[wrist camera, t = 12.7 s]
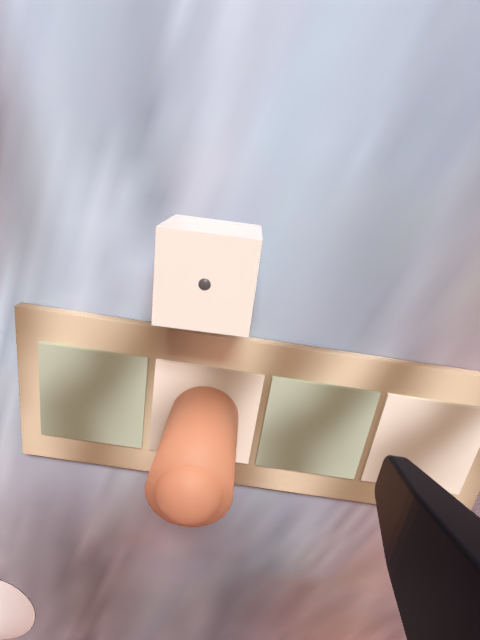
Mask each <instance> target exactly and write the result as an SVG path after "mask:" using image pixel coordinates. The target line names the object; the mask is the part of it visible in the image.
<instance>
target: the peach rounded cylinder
mask: <svg viewBox="0 0 480 640" xmlns="http://www.w3.org/2000/svg"><path fill="white" fill-rule="evenodd" d="M238 418H239V416H238V409H237V407H236V405H235V403H234V401H233V400H232V399H231V398H230V397H229V396H228V395H227V394H226V393H224V392H223V391H221V390H219V389H216V388H213V387H208V386H198V387H193V388H190V389H188V390H186V391H184V392H182V393H181V394H180V395H179V396H178V397H177V398H176V400H175V401H174V403H173V406H172V409H171V411H170V414H169V417H168V420H167V423H166V426H165V429H164V432H163V434H162V437H161V440H160V443H159V446H158V449H157V452H156V455H155V457H154V460H153V463H152V466H151V469H150V472H149V475H148V477H147V480H146V484H145V495H146V498H147V501H148V503H149V505H150V506H151V508H152V509H153V510H154V511H155V513H157V514H158V515H159V516H160V517H162V518H163V519H165V520H167V521H169V522H171V523H173V524H177V525H180V526H187V527H198V526H204V525H208V524H211V523H213V522H215V521H217V520H219V519H220V518H221V517H223V516H224V515H225V514H226V513H227V511H228V510H229V508H230V506H231V504H232V500H233V490H234V475H235V461H236V446H237V432H238Z"/></svg>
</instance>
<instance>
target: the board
mask: <svg viewBox="0 0 480 640" xmlns="http://www.w3.org/2000/svg"><path fill="white" fill-rule="evenodd" d="M14 308H15V325H16V343H17V360H18V377H19V395H20V412H21V430H22V447H23V453H25V454H31V455H38V456H45V457H52V458H59V459H66V460H73V461H80V462H87V463H94V464H101V465H108V466H115V467H121V468H128V469H135V470H142V471H149V472H150V469H151V466H152V463H153V460H154V457H155V455H156V452H157V449H158V446H159V443H160V440H161V437H162V434H163V432H164V429H165V426H166V423H167V420H168V417H169V414H170V411H171V409H172V406H173V403H174V401H175V400H176V398H177V397H178V396H179V395H180V394H181V393H182V392H184V391H186V390H188V389H190V388H193V387H198V386H208V387H213V388H216V389H219V390H221V391H223V392H224V393H226V394H227V395H228V396H229V397H230V398H231V399H232V400H233V401H234V403H235V405H236V407H237V409H238V416H239V418H238V432H237V446H236V461H235V475H234V484H239V485H246V486H253V487H260V488H267V489H274V490H281V491H288V492H295V493H301V494H308V495H315V496H322V497H329V498H336V499H343V500H350V501H357V502H364V503H371V504H376V500H375V484H376V481H377V478H378V475H379V472H380V469H381V466H382V463H383V460H384V458H385V457H386V456H388V455H394V456H401V457H406V458H407V459H409V460H410V461H411V462H412V463H414V464H415V465H416V466H417V467H419V468H420V469H421V470H422V471H423V472H425V473H426V474H427V475H428V476H430V477H431V478H432V479H433V480H434V481H436V482H437V483H438V484H439V485H440V486H442V487H443V488H444V489H445V490H447V491H448V492H449V493H450V494H451V495H453V496H454V497H455V498H456V499H458V500H459V501H460V502H461V503H462V504H464V505H465V506H466V507H467V508H469V509H470V510H471V509H472V507H473V505H474V502H475V500H476V498H477V496H478V494H479V492H480V371H473V370H466V369H460V368H453V367H446V366H440V365H433V364H426V363H420V362H413V361H406V360H400V359H393V358H386V357H380V356H373V355H366V354H360V353H353V352H347V351H340V350H333V349H327V348H320V347H313V346H307V345H300V344H293V343H287V342H280V341H273V340H267V339H260V338H253V337H249V338H248V337H240V336H232V335H225V334H217V333H209V332H201V331H193V330H185V329H177V328H170V327H162V326H154V325H152V322H147V321H140V320H133V319H127V318H120V317H113V316H107V315H100V314H94V313H87V312H80V311H74V310H67V309H60V308H54V307H47V306H40V305H34V304H27V303H19V304H18V305H16V306H14Z"/></svg>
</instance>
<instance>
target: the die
mask: <svg viewBox="0 0 480 640" xmlns="http://www.w3.org/2000/svg"><path fill="white" fill-rule="evenodd" d="M261 247H262V228H261V225H254V224H246V223H238V222H231V221H223V220H215V219H208V218H200V217H192V216H185V215H177V214H175V215H174V216H172V217H170V218H169V219H167V220H166V221H164V222H162V223H161V224H159V225H158V226H156V240H155V261H154V282H153V304H152V325H154V326H162V327H170V328H177V329H185V330H193V331H201V332H209V333H217V334H225V335H232V336H240V337H248V338H249V332H250V325H251V318H252V311H253V304H254V296H255V289H256V282H257V275H258V268H259V261H260V254H261Z"/></svg>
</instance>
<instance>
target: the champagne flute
mask: <svg viewBox="0 0 480 640" xmlns="http://www.w3.org/2000/svg"><path fill="white" fill-rule="evenodd" d="M34 621H35V612H34V608H33V606H32V604H31V602H30V601H29V599H28V598H27V597H26V596H25V595H24V594H23V593H22V592H21V591H19V590H18V589H17V588H15V587H13V586H12V585H10V584H8V583H6V582H3V581H1V580H0V640H4V639H11V638H15V637H19V636H21V635H23V634H25V633H26V632H27V631H29V630H30V629H31V627H32V626H33V624H34Z"/></svg>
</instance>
